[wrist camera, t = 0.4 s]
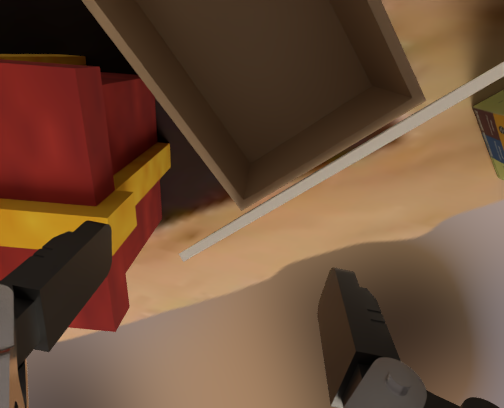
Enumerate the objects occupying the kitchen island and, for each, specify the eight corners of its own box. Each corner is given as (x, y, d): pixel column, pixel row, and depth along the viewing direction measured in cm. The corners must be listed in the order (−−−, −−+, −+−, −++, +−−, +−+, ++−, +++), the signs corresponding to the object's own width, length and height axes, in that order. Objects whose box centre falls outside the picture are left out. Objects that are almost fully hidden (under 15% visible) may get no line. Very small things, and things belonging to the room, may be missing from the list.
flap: (523, 50, 13) (530, 60, 13) (430, 103, 25) (433, 109, 25) (178, 253, 18) (183, 261, 18) (242, 215, 30) (244, 219, 30)
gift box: (-39, 32, 36) (-356, 8, 18) (179, 48, 36) (82, 40, 17) (15, 224, 47) (-150, 333, 29) (184, 239, 46) (127, 360, 28)
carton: (250, -174, 28) (236, -319, 17) (379, 87, 36) (426, 100, 25) (106, -31, 33) (26, -73, 22) (249, 170, 41) (241, 211, 30)
